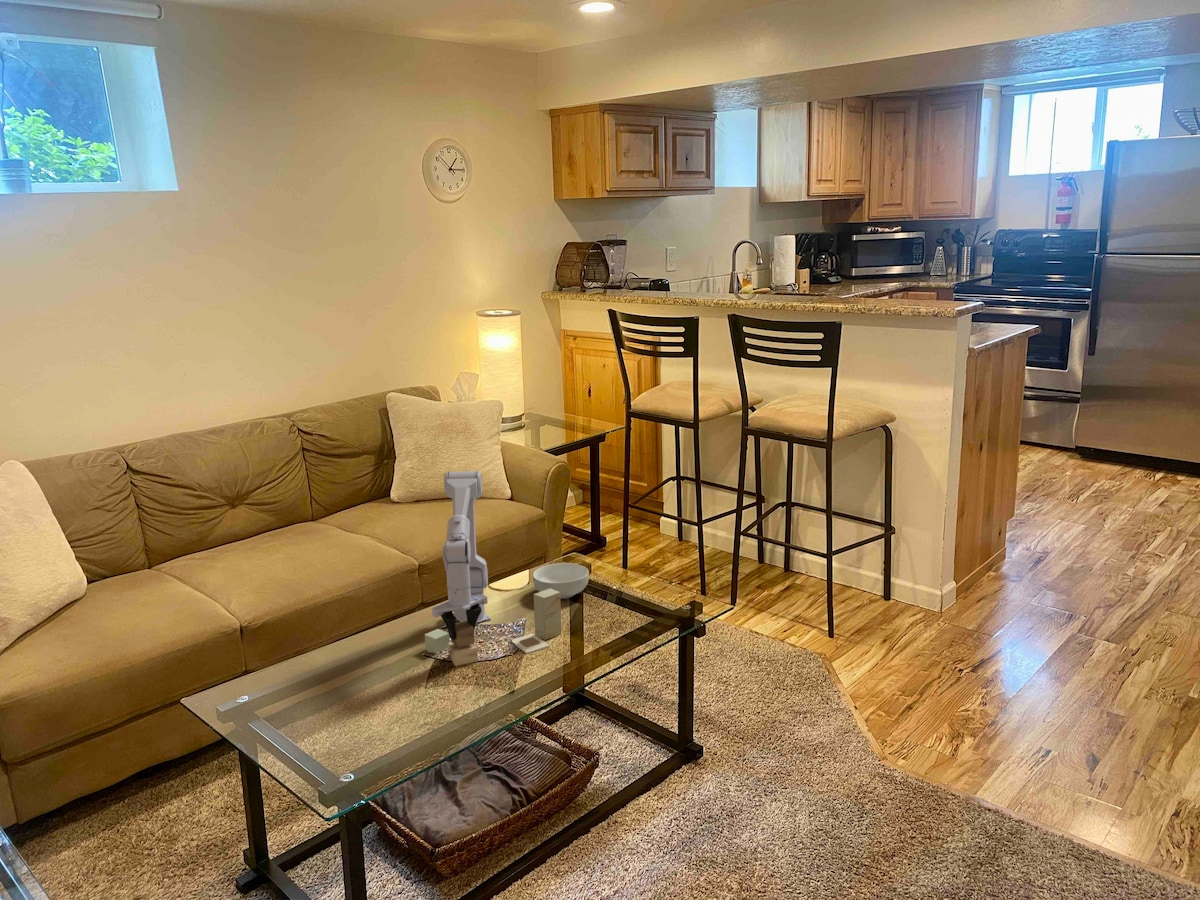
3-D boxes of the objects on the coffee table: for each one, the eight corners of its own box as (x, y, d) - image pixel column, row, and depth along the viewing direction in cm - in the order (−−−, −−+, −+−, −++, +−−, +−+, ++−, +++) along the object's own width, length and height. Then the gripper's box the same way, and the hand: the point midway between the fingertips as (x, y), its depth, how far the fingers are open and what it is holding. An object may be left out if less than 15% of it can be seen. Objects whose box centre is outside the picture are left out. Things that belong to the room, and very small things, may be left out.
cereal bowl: (567, 579, 280) (566, 558, 279) (600, 594, 268) (600, 572, 266) (522, 593, 270) (521, 571, 268) (555, 610, 257) (554, 587, 256)
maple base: (448, 657, 230) (448, 642, 229) (471, 652, 232) (470, 638, 231) (455, 666, 224) (454, 652, 224) (478, 661, 227) (477, 647, 226)
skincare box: (544, 640, 237) (543, 598, 235) (534, 635, 241) (532, 594, 238) (562, 633, 242) (561, 591, 239) (551, 628, 245) (550, 587, 242)
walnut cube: (451, 641, 228) (449, 625, 227) (467, 636, 230) (465, 620, 229) (458, 648, 224) (457, 631, 223) (474, 642, 226) (473, 626, 225)
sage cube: (425, 650, 234) (424, 634, 233) (439, 644, 237) (438, 628, 236) (436, 655, 231) (435, 639, 230) (450, 648, 234) (449, 633, 233)
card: (510, 641, 237) (509, 639, 237) (532, 634, 241) (532, 632, 241) (526, 653, 230) (526, 651, 230) (549, 646, 234) (549, 644, 234)
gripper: (439, 597, 216) (442, 648, 220) (491, 584, 224) (494, 633, 228) (427, 588, 222) (430, 638, 225) (479, 575, 230) (481, 624, 233)
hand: (461, 635), depth 227 cm, fingers closed on walnut cube, 4 cm apart
